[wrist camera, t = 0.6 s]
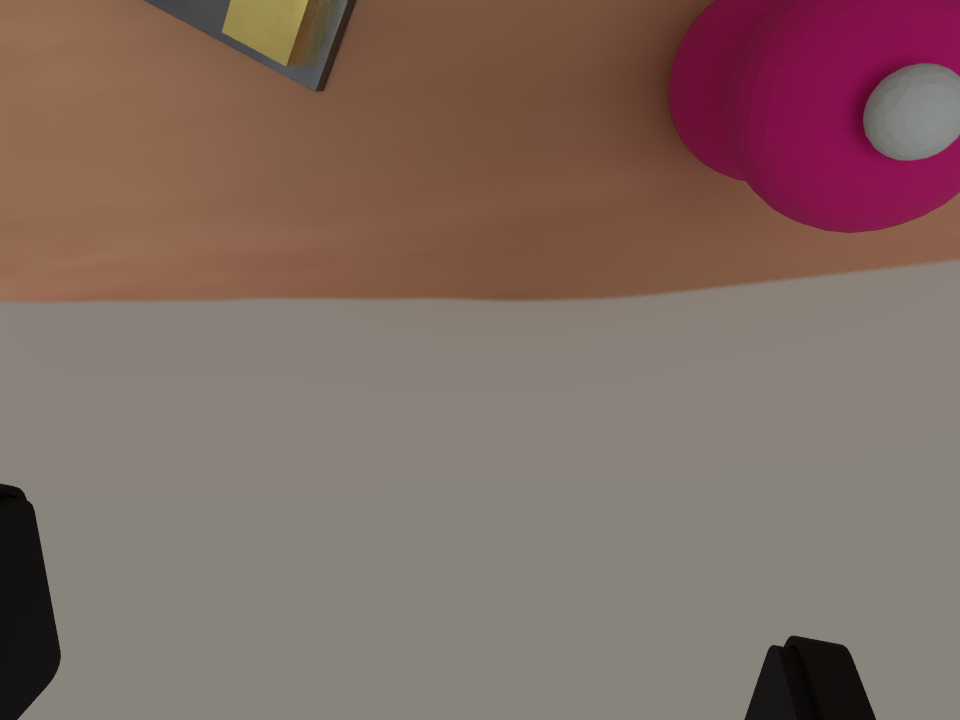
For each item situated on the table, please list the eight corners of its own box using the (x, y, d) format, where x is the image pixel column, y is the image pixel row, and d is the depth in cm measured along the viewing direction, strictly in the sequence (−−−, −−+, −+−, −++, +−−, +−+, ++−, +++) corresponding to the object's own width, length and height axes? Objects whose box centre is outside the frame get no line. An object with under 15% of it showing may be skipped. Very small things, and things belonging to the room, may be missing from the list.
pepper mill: (692, 190, 34) (785, 353, 15) (639, 32, 31) (673, 7, 13) (858, 125, 31) (1193, 226, 13) (813, -48, 29) (1138, -212, 11)
